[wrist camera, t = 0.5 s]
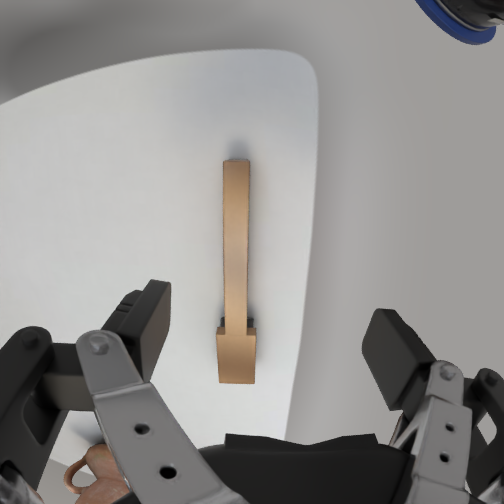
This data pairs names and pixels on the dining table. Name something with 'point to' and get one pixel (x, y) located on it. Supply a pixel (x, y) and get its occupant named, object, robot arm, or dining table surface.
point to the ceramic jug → (105, 470)
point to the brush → (236, 280)
